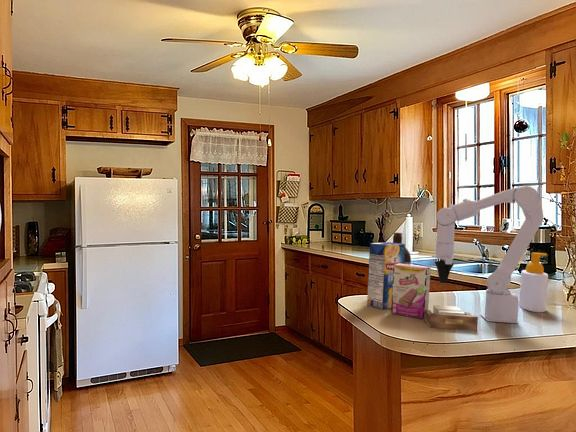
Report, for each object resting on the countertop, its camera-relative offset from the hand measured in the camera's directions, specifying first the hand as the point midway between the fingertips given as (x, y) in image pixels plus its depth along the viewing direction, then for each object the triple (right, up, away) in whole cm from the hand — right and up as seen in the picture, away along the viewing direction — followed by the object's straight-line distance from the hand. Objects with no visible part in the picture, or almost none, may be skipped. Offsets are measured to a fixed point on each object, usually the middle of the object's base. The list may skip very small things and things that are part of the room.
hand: (442, 282), depth 162 cm
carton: (-3, -11, -15) cm, 19 cm away
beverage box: (-19, -9, +6) cm, 22 cm away
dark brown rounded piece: (-12, -9, +19) cm, 24 cm away
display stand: (-3, -11, -17) cm, 20 cm away
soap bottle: (+36, -11, +10) cm, 39 cm away
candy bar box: (-13, -10, -7) cm, 18 cm away
